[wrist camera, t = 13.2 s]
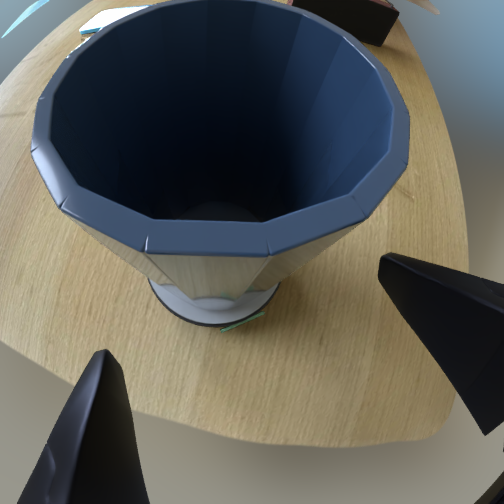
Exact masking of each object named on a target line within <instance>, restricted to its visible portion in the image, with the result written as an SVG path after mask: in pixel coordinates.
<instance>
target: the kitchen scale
mask: <svg viewBox="0 0 504 504" xmlns="http://www.w3.org/2000/svg"><path fill="white" fill-rule="evenodd" d="M147 278H148V277H147ZM148 281H149V284H150V286H151V288H152V290H153V292H154V294H155V295H156V297H157V298H158V300H159V301H160V302H161V303H162V304H163V306H165V307H166V308H167V309H168V310H169V311H170V312H171V313H173V314H174V315H176V316H177V317H179V318H181V319H183V320H185V321H187V322H189V323H192V324H195V325H200V326H205V327H225V326H227V327H225V328H223V329H220V331H221V333H223V332H225V331H227V330H229V329H232V328H234V327H236V326H239V325H241V324H243V323H245V322H248V321H250V320H252V319H254V318H257V317H259V316H261V315H263V314H265V313H264V311H262V312H260V311H261V310H262V309H263V308H264V307H265V306H266V305H267V304H268V303H269V302H270V300H271V299H272V298H273V296H274V295H275V293H276V291H277V290H278V288H279V285H280V283H281V281H280V282H279V283H277V284H276V285H275V286H273V287H272V288H270V289H269V290H267V291H266V292H264V293H263V294H261V295H260V296H258V297H257V298H255V299H254V300H252V301H251V302H249V303H246V304H244V305H242V306H240V307H237V308H234V309H231V310H228V311H210V310H202V309H199V308H197V307H195V306H192V305H190V304H188V303H186V302H184V301H182V300H180V299H179V298H177V297H176V296H174V295H173V294H171V293H170V292H168V291H167V290H165V289H164V288H162V287H161V286H159V285H158V284H156V283H155V282H153V281H152V280H150V279H149V278H148ZM258 312H259V313H258Z"/></svg>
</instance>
